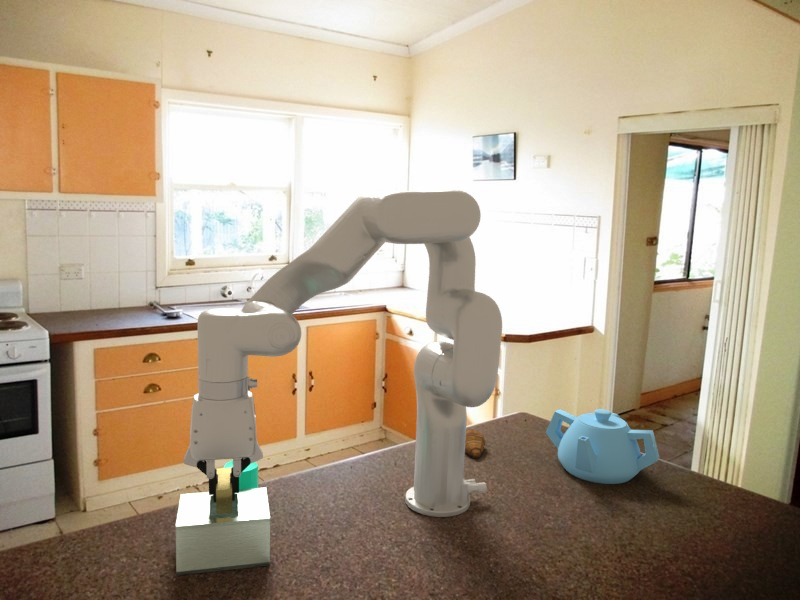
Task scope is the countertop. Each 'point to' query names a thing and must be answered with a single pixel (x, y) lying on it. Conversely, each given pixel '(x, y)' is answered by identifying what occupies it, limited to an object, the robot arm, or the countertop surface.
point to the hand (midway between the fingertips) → (224, 496)
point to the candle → (247, 476)
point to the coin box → (222, 533)
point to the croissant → (474, 443)
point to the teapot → (601, 446)
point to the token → (224, 491)
